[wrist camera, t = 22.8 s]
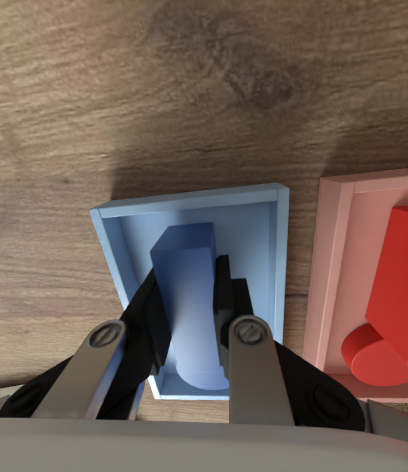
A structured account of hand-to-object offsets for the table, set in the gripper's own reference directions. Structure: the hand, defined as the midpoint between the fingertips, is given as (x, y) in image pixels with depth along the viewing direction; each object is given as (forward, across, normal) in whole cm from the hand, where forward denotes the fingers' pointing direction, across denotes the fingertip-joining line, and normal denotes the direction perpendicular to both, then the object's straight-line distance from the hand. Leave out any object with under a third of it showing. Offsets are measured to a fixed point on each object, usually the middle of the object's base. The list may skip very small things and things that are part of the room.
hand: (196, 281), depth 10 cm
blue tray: (+2, 0, +3) cm, 3 cm away
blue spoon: (+1, 0, +3) cm, 3 cm away
